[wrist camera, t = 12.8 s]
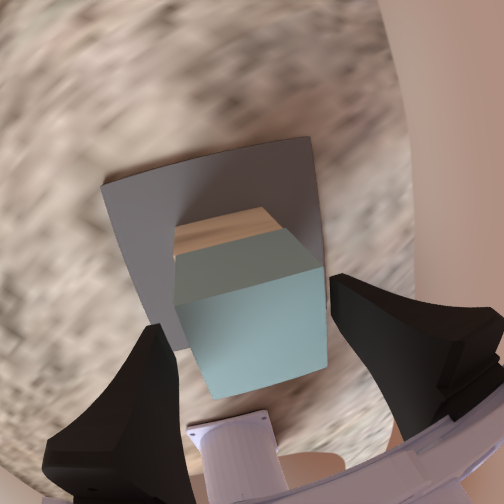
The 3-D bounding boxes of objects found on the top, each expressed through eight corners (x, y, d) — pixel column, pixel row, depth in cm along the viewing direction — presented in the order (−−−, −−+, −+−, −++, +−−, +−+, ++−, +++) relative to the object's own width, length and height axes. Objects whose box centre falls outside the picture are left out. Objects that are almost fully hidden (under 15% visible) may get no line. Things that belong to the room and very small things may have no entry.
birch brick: (273, 281, 19) (294, 317, 15) (196, 301, 18) (201, 341, 15) (261, 206, 17) (283, 229, 13) (175, 226, 16) (173, 255, 13)
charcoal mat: (324, 305, 21) (326, 308, 21) (164, 348, 20) (164, 353, 19) (307, 136, 16) (310, 136, 16) (102, 184, 15) (100, 186, 14)
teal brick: (297, 315, 15) (327, 366, 12) (204, 341, 15) (213, 400, 11) (285, 227, 13) (323, 266, 10) (175, 255, 13) (173, 306, 9)
